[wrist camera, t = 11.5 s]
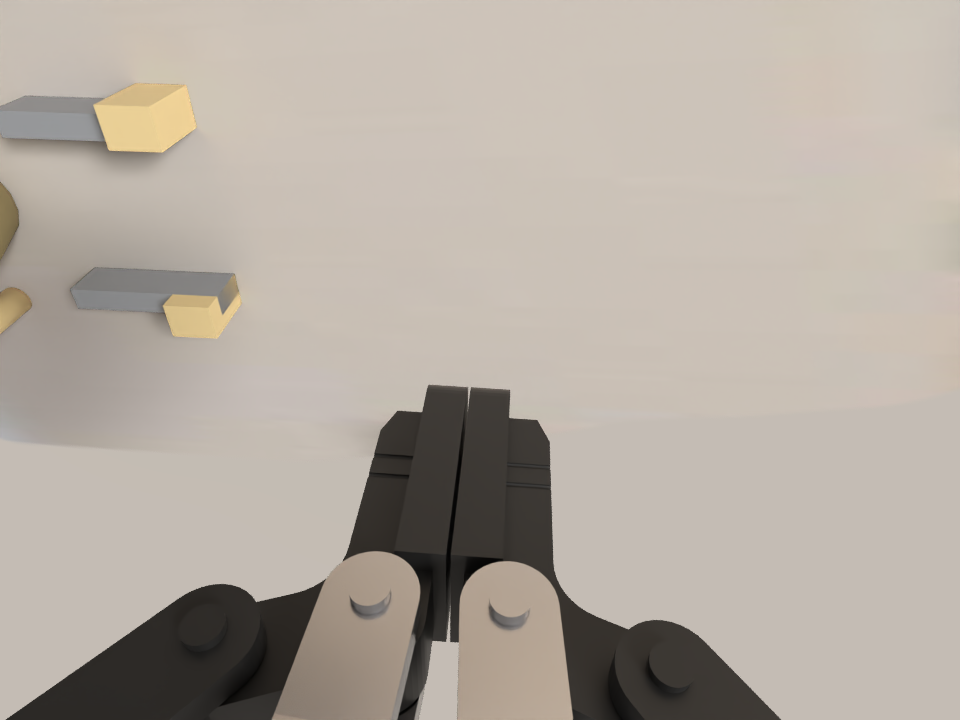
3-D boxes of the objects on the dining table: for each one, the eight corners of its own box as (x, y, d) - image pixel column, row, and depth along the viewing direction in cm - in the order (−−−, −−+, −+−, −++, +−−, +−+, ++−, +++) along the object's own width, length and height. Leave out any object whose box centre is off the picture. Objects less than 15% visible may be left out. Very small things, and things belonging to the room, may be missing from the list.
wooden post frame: (-128, 45, 36) (-229, 70, 31) (178, 54, 35) (122, 81, 30) (10, 310, 47) (-49, 358, 42) (246, 321, 46) (213, 372, 41)
